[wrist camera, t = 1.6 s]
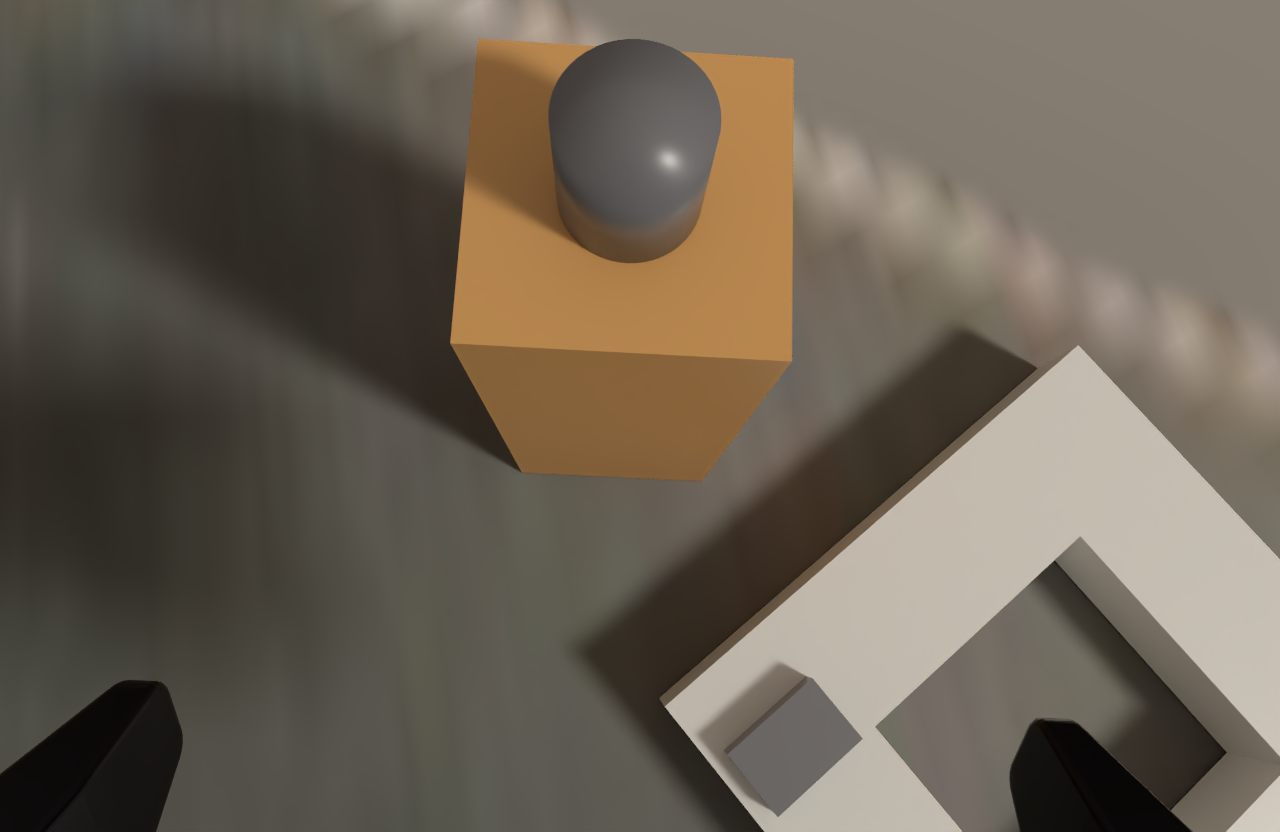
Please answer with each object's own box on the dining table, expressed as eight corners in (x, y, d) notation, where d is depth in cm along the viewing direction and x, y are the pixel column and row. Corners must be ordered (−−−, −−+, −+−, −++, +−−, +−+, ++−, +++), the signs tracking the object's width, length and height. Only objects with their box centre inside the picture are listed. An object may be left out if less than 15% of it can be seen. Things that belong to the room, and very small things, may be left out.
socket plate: (1039, 1176, 20) (1105, 1260, 17) (658, 697, 21) (666, 709, 19) (1412, 770, 22) (1519, 790, 19) (1038, 367, 24) (1091, 337, 21)
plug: (701, 481, 23) (828, 312, 10) (521, 472, 23) (420, 289, 10) (706, 311, 24) (827, -40, 11) (534, 301, 24) (456, -65, 11)
